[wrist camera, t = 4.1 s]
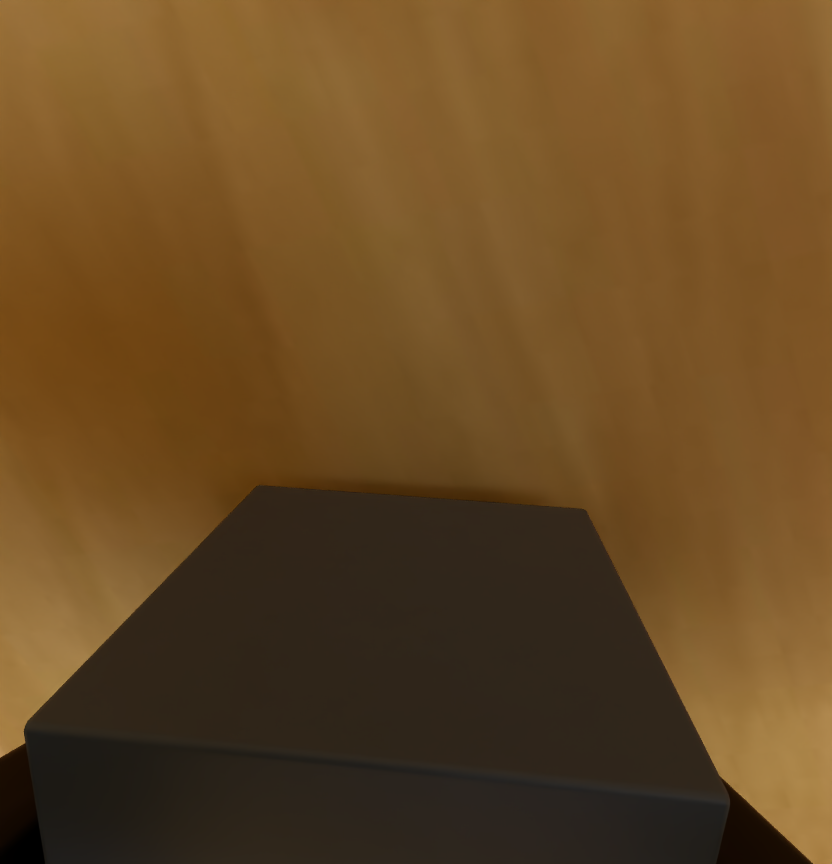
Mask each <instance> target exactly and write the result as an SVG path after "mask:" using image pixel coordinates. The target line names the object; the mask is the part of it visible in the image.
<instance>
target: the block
mask: <svg viewBox="0 0 832 864" xmlns="http://www.w3.org/2000/svg"><path fill="white" fill-rule="evenodd" d="M24 736H25V742H26V749H27V755H28V761H29V767H30V773H31V779H32V786H33V792H34V798H35V804H36V810H37V816H38V823H39V829H40V835H41V841H42V847H43V853H44V860H45V864H716V862H717V858H718V854H719V850H720V845H721V841H722V837H723V833H724V828H725V824H726V820H727V816H728V812H729V807H730V798H729V795H728V792H727V790H726V788H725V786H724V784H723V782H722V780H721V778H720V776H719V774H718V772H717V770H716V768H715V766H714V764H713V762H712V760H711V758H710V756H709V754H708V752H707V750H706V748H705V746H704V744H703V742H702V740H701V738H700V736H699V734H698V732H697V730H696V728H695V726H694V724H693V722H692V720H691V718H690V716H689V714H688V712H687V710H686V708H685V706H684V705H683V703H682V701H681V699H680V697H679V695H678V693H677V691H676V689H675V687H674V685H673V683H672V681H671V679H670V677H669V675H668V673H667V671H666V669H665V667H664V665H663V663H662V661H661V659H660V657H659V655H658V653H657V651H656V649H655V647H654V645H653V643H652V641H651V639H650V637H649V635H648V633H647V631H646V629H645V627H644V625H643V623H642V621H641V619H640V617H639V615H638V613H637V611H636V609H635V607H634V605H633V603H632V601H631V599H630V597H629V595H628V593H627V591H626V589H625V587H624V585H623V583H622V581H621V579H620V577H619V575H618V573H617V571H616V569H615V567H614V565H613V563H612V561H611V559H610V557H609V555H608V553H607V551H606V549H605V547H604V545H603V543H602V541H601V539H600V537H599V535H598V533H597V531H596V529H595V527H594V525H593V523H592V521H591V519H590V517H589V515H588V513H587V511H586V510H584V509H577V508H563V507H549V506H535V505H522V504H508V503H494V502H481V501H467V500H453V499H440V498H426V497H412V496H398V495H385V494H371V493H357V492H344V491H330V490H316V489H302V488H289V487H275V486H261V485H259V486H256V487H255V488H254V489H253V490H252V491H251V492H250V494H249V495H248V496H247V497H246V498H245V499H244V500H243V501H242V502H241V503H240V504H239V505H238V506H237V507H236V508H235V509H234V510H233V511H232V512H231V513H230V514H229V515H228V516H227V517H226V518H225V519H224V520H223V521H222V522H221V523H220V524H219V525H218V526H217V527H216V528H215V529H214V530H213V531H212V533H211V534H210V535H209V536H208V537H207V538H206V539H205V540H204V541H203V542H202V543H201V544H200V545H199V546H198V547H197V548H196V549H195V550H194V551H193V552H192V553H191V554H190V555H189V556H188V557H187V558H186V559H185V560H184V561H183V562H182V563H181V564H180V565H179V566H178V567H177V568H176V569H175V570H174V571H173V573H172V574H171V575H170V576H169V577H168V578H167V579H166V580H165V581H164V582H163V583H162V584H161V585H160V586H159V587H158V588H157V589H156V590H155V591H154V592H153V593H152V594H151V595H150V596H149V597H148V598H147V599H146V600H145V601H144V602H143V603H142V604H141V605H140V606H139V607H138V608H137V609H136V610H135V612H134V613H133V614H132V615H131V616H130V617H129V618H128V619H127V620H126V621H125V622H124V623H123V624H122V625H121V626H120V627H119V628H118V629H117V630H116V631H115V632H114V633H113V634H112V635H111V636H110V637H109V638H108V639H107V640H106V641H105V642H104V643H103V644H102V645H101V646H100V647H99V648H98V649H97V650H96V652H95V653H94V654H93V655H92V656H91V657H90V658H89V659H88V660H87V661H86V662H85V663H84V664H83V665H82V666H81V667H80V668H79V669H78V670H77V671H76V672H75V673H74V674H73V675H72V676H71V677H70V678H69V679H68V680H67V681H66V682H65V683H64V684H63V685H62V686H61V687H60V688H59V689H58V691H57V692H56V693H55V694H54V695H53V696H52V697H51V698H50V699H49V700H48V701H47V702H46V703H45V704H44V705H43V706H42V707H41V708H40V709H39V710H38V711H37V712H36V713H35V714H34V715H33V716H32V717H31V718H30V719H29V720H28V721H27V723H26V725H25V729H24Z"/></svg>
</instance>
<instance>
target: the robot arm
mask: <svg viewBox="0 0 832 864" xmlns="http://www.w3.org/2000/svg"><path fill="white" fill-rule="evenodd" d="M720 778H721V777H720ZM721 780H722V782H723V784H724V786H725V788H726V790H727V792H728V795H729V798H730V807H729V812H728V816H727V820H726V824H725V828H724V833H723V837H722V841H721V845H720V850H719V854H718V858H717V862H716V864H813V863H812V862H811V861H810V860H809V859H807V858H806V857H805V856H804V855H803V854H802V853H801V852H800V851H799V850H798V849H797V848H796V847H795V846H794V845H793V844H791V843H790V842H789V841H788V840H787V839H786V838H785V837H784V836H783V835H782V834H781V833H780V832H779V831H778V830H777V829H776V828H774V827H773V826H772V825H771V824H770V823H769V822H768V821H767V820H766V819H765V818H764V817H763V816H762V815H761V814H760V813H758V812H757V811H756V810H755V809H754V808H753V807H752V806H751V805H750V804H749V803H748V802H747V801H746V800H745V799H744V798H743V797H741V796H740V795H739V794H738V793H737V792H736V791H735V790H734V789H733V788H732V787H731V786H730V785H729V784H728V783H727V782H725V781H724V780H723V779H722V778H721ZM0 864H45V860H44V853H43V847H42V841H41V835H40V829H39V823H38V816H37V810H36V804H35V798H34V792H33V786H32V779H31V773H30V767H29V761H28V755H27V749H26V743H25V744H23V745H21V746H20V747H18V748H16V749H15V750H13V751H11V752H9V753H8V754H6V755H4V756H2V757H1V758H0Z"/></svg>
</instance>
